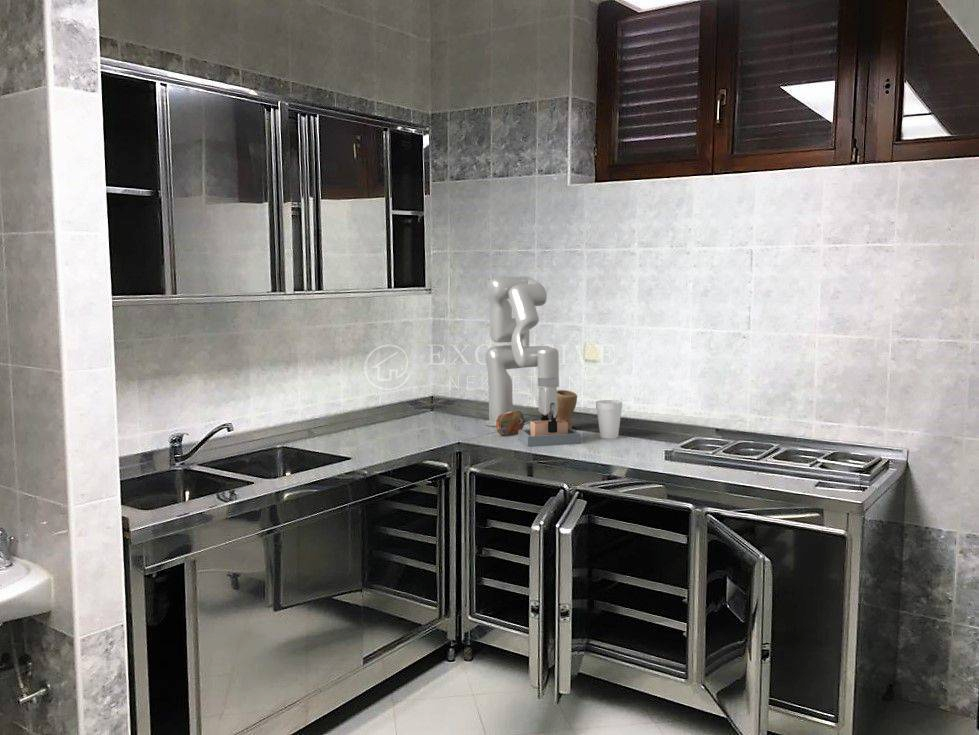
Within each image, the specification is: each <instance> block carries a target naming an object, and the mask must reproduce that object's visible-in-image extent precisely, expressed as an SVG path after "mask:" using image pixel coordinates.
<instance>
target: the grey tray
mask: <svg viewBox="0 0 979 735" xmlns="http://www.w3.org/2000/svg"><path fill="white" fill-rule="evenodd" d="M517 434H518V435H517V436H518V441H520V442H521V443H523V444H524V445H526V447H531V448H532V447H545V446H547V447H549V446H560V445H562V446H563V445H574V444H575V445H578V444H581V443H582V434H581V433H580V432H579V431H578V430H575V429H573V428H572V427H571V428H570V427H568V434H556V435H539V436H531V432H530V429H529V428H527V429H524V428H523V429H522V430H518V433H517Z"/></svg>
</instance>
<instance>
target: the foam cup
mask: <svg viewBox="0 0 979 735" xmlns="http://www.w3.org/2000/svg"><path fill="white" fill-rule="evenodd" d="M595 409H596V414H597V421H598V430H599V436H600V438H601V439H604V440H605V439H606V440H607V439H609V440H610V439H611V440H613V439H618V438H619V433H620V432H619V431H620V424H621V418H622V417H621V416H622V409H623V401H622V400H616V399H601V400H596V402H595Z"/></svg>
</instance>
